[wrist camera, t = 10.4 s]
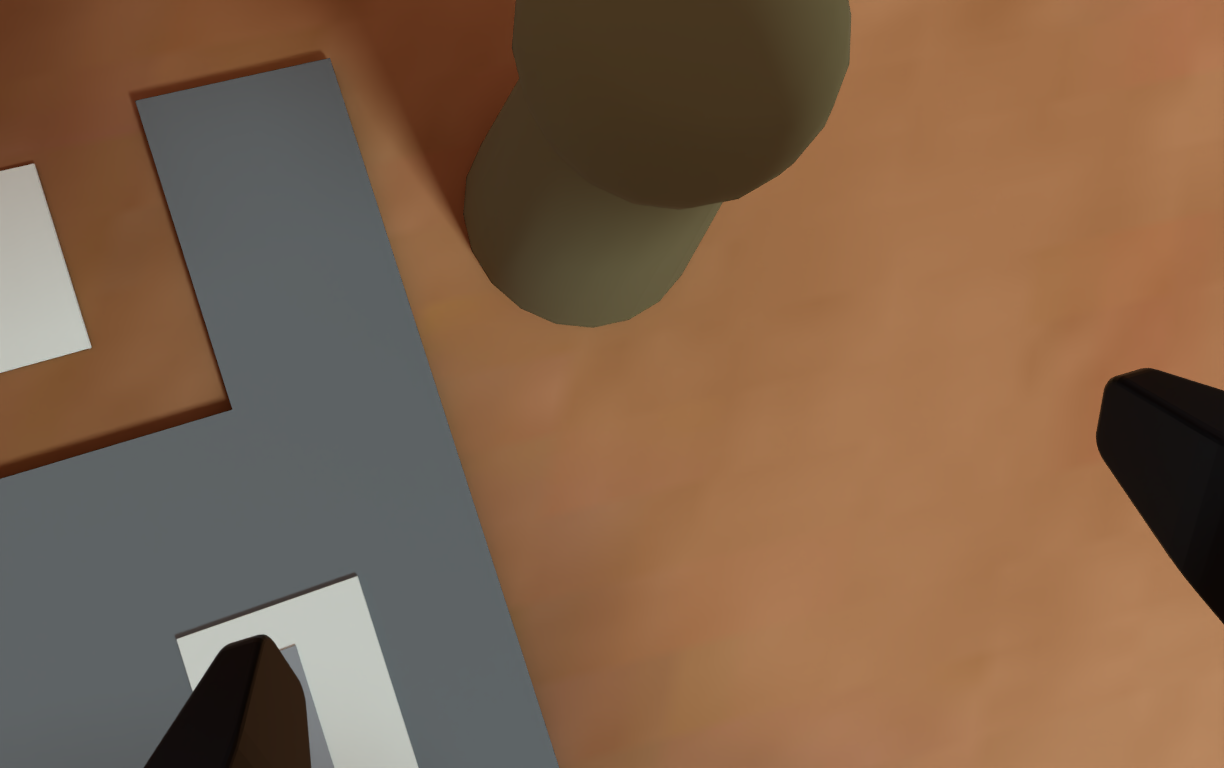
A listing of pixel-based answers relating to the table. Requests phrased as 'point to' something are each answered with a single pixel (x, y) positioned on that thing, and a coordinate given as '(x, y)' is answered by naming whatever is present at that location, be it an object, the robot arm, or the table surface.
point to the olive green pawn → (640, 140)
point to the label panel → (257, 475)
